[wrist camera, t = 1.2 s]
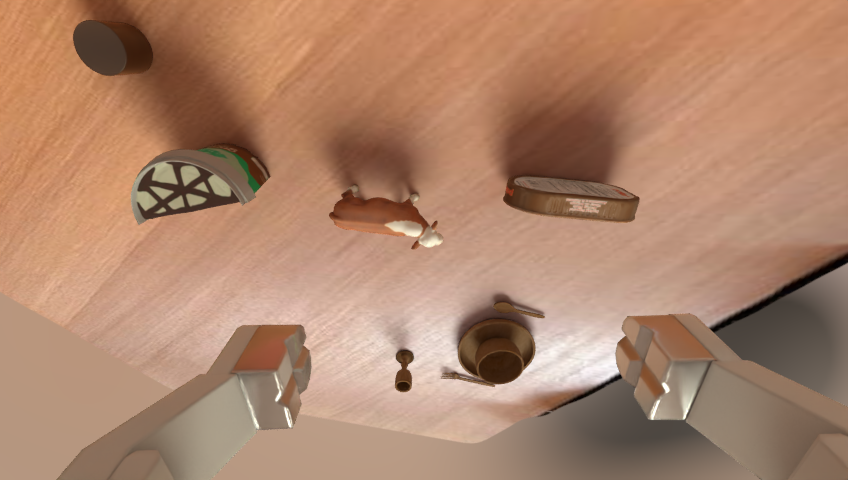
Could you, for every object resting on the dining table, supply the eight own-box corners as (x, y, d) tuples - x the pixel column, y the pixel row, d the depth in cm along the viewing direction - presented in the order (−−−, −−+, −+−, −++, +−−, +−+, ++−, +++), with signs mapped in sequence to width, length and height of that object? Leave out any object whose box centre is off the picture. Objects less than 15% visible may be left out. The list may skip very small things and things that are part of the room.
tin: (496, 192, 47) (511, 218, 39) (501, 167, 45) (517, 190, 38) (612, 202, 47) (647, 231, 40) (620, 179, 46) (659, 204, 39)
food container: (262, 123, 43) (221, 143, 34) (281, 174, 46) (248, 204, 37) (164, 143, 44) (98, 167, 35) (188, 192, 47) (133, 225, 38)
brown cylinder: (96, 23, 38) (63, 20, 35) (143, 22, 38) (114, 19, 35) (115, 74, 40) (85, 76, 37) (159, 73, 40) (133, 75, 37)
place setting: (505, 390, 63) (512, 421, 58) (392, 363, 60) (390, 393, 55) (553, 313, 56) (567, 340, 50) (428, 277, 53) (429, 302, 47)
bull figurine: (438, 228, 49) (441, 259, 42) (337, 207, 48) (322, 235, 40) (447, 198, 47) (451, 225, 40) (342, 175, 46) (327, 199, 38)
